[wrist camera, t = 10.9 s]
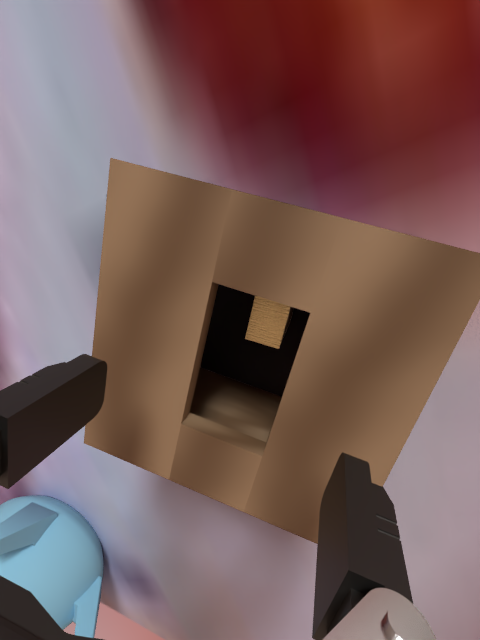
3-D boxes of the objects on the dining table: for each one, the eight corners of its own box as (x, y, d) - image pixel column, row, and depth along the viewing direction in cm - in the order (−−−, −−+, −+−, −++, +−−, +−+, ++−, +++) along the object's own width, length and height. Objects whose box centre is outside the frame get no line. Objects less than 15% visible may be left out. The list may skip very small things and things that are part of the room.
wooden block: (297, 280, 17) (278, 349, 19) (305, 267, 22) (290, 323, 23) (261, 270, 18) (244, 338, 19) (276, 259, 22) (262, 315, 24)
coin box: (423, 239, 20) (500, 258, 10) (342, 428, 25) (346, 556, 15) (204, 182, 22) (110, 158, 13) (170, 365, 27) (83, 442, 18)
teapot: (65, 463, 34) (-48, 565, 24) (144, 577, 36) (70, 716, 26) (-18, 497, 39) (-137, 592, 30) (54, 595, 41) (-35, 715, 31)
